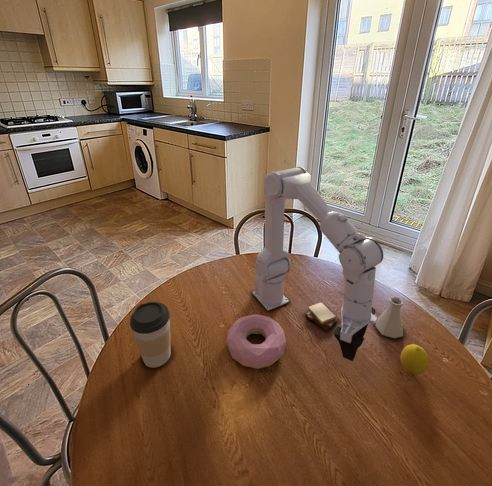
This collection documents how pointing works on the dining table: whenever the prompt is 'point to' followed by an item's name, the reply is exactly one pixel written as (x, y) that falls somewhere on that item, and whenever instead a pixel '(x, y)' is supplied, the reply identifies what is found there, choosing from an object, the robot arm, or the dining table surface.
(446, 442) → the dining table surface
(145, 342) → the coffee cup
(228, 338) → the donut
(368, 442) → the dining table surface
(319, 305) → the letter pile
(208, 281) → the dining table surface
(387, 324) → the flask
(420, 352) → the lemon
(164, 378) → the dining table surface
